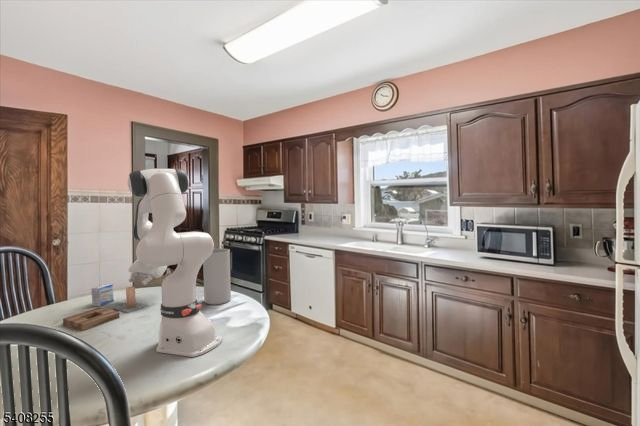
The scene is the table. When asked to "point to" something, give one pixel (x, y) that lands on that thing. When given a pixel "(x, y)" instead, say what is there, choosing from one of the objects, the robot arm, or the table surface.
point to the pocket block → (90, 318)
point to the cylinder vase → (217, 277)
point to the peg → (130, 297)
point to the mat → (127, 310)
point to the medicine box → (102, 295)
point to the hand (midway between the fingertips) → (136, 282)
